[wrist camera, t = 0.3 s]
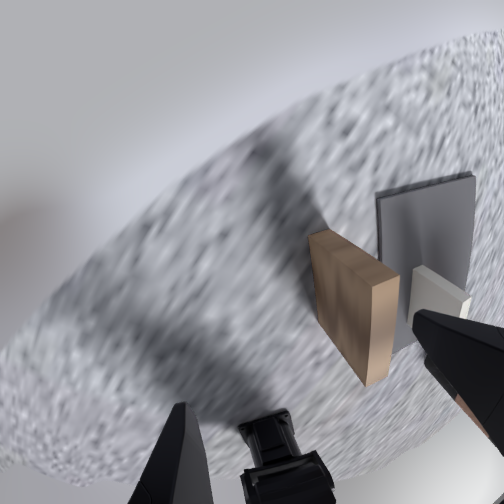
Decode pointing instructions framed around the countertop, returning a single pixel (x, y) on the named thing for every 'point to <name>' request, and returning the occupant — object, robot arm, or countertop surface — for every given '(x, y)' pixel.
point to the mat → (426, 239)
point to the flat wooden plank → (355, 303)
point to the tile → (436, 295)
